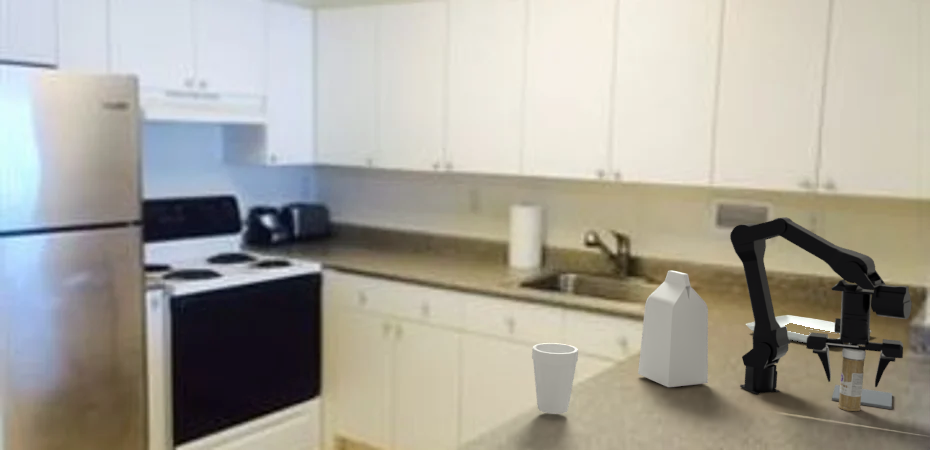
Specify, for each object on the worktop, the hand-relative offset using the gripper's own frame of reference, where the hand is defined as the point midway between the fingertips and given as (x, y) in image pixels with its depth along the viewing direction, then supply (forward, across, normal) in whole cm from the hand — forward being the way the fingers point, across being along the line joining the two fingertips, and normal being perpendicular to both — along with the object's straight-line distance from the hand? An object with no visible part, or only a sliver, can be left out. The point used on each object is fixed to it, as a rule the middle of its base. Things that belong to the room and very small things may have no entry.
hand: (852, 384), depth 179 cm
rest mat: (+6, -2, -11) cm, 12 cm away
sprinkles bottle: (+6, 0, 0) cm, 6 cm away
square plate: (+5, +16, -73) cm, 75 cm away
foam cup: (+4, +55, +36) cm, 66 cm away
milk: (+5, +40, -3) cm, 40 cm away
